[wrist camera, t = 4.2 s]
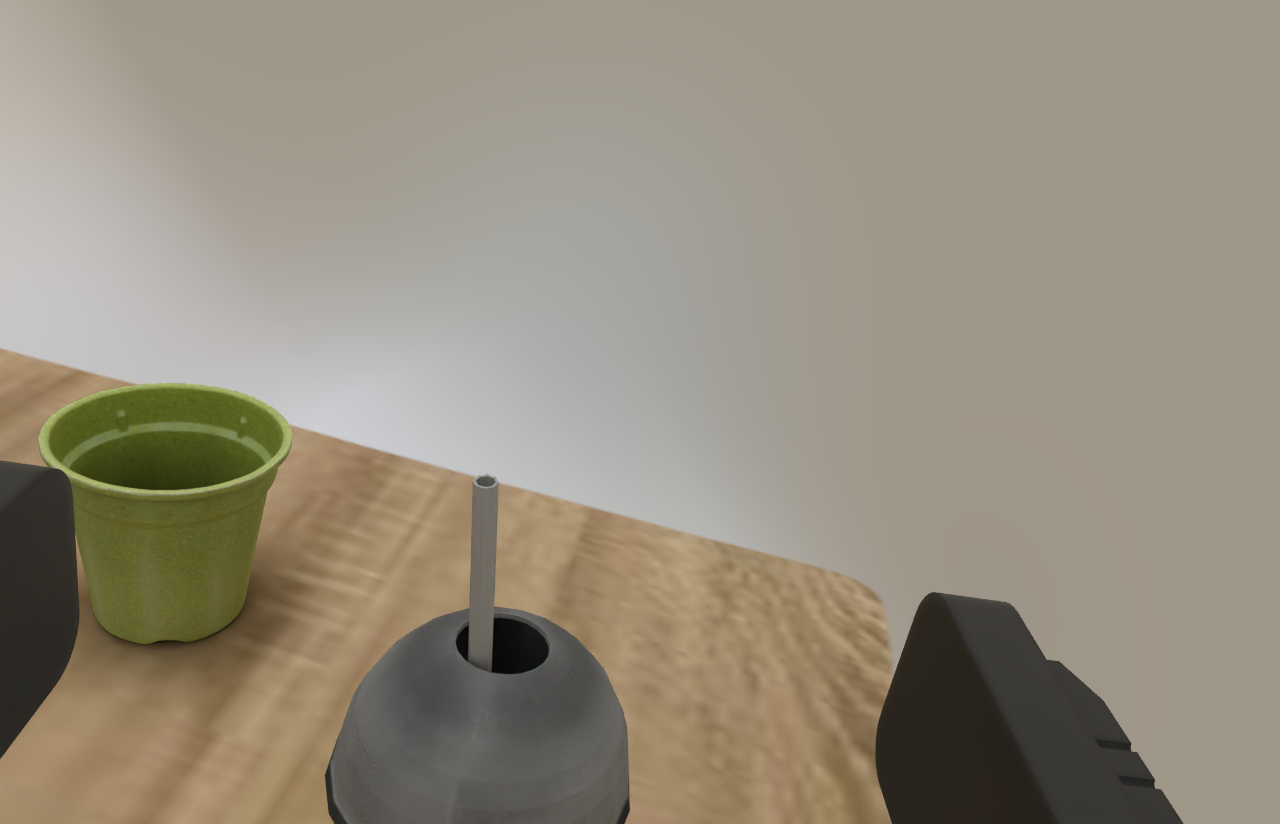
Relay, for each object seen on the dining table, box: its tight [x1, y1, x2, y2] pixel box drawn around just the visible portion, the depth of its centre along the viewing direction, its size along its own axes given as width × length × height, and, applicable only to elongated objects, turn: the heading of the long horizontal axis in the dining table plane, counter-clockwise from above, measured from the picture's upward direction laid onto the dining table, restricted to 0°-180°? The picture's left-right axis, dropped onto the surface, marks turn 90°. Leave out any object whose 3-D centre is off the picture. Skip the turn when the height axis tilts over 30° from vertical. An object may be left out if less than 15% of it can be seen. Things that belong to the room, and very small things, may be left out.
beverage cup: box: [325, 474, 630, 824], centre depth 25 cm, size 7×7×20 cm
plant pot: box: [38, 383, 292, 644], centre depth 44 cm, size 9×9×9 cm
